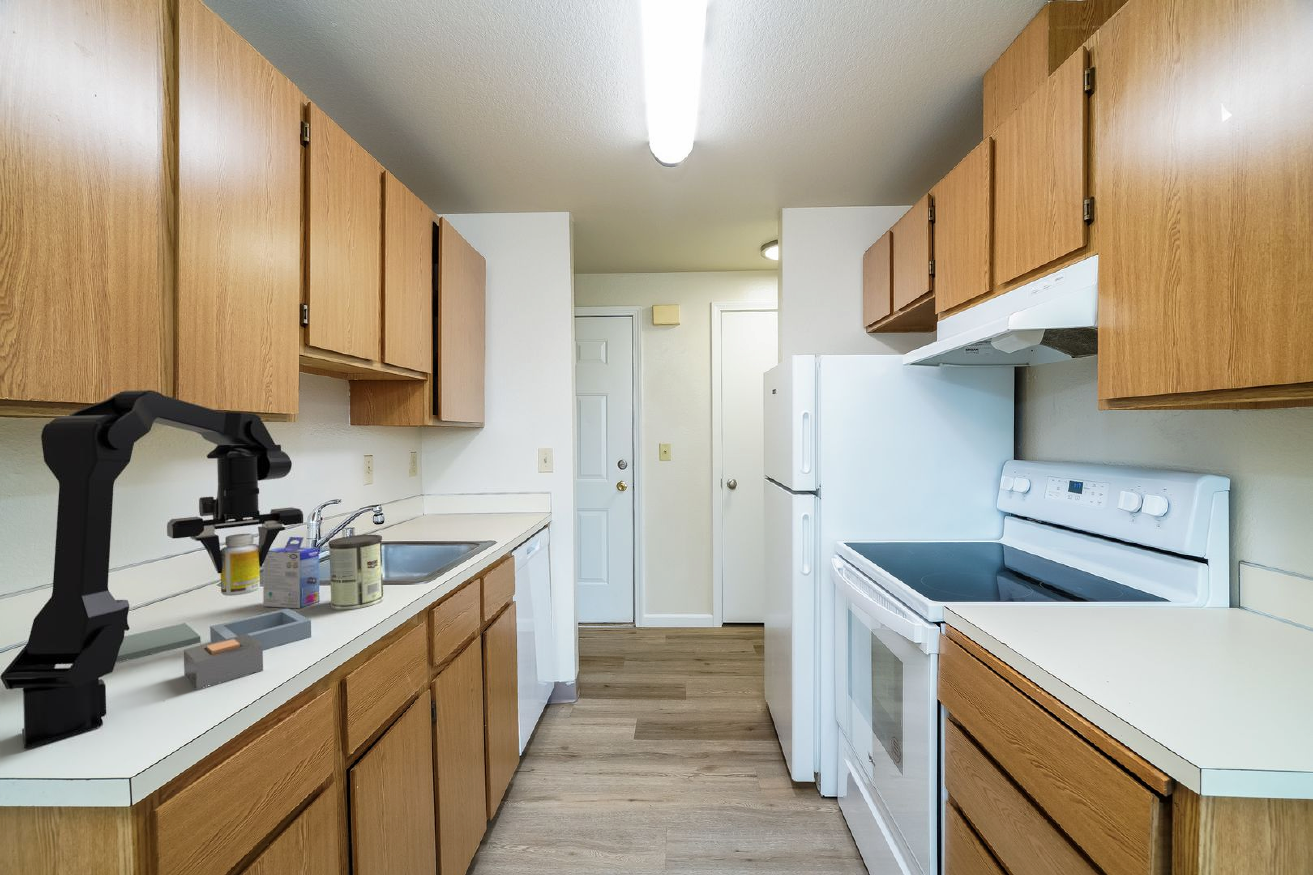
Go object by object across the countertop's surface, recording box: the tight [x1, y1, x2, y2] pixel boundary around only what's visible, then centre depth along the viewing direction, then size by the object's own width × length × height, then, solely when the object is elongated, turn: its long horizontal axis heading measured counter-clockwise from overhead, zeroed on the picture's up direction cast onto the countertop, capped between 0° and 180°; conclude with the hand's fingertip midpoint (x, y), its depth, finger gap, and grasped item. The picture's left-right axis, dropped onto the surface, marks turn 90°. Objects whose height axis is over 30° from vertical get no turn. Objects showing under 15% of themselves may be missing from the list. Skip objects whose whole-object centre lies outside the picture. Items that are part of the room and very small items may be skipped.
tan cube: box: [206, 639, 240, 655], centre depth 83 cm, size 3×3×3 cm
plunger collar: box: [183, 634, 264, 690], centre depth 83 cm, size 8×8×4 cm
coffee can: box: [328, 534, 384, 611], centre depth 118 cm, size 10×10×14 cm
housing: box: [209, 607, 312, 651], centre depth 97 cm, size 12×12×3 cm
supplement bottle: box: [220, 533, 261, 597], centre depth 97 cm, size 6×6×10 cm
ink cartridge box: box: [262, 536, 320, 609], centre depth 118 cm, size 10×6×14 cm, turn 78°
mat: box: [116, 622, 202, 663], centre depth 96 cm, size 12×12×1 cm
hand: (240, 569), depth 97 cm, fingers closed on supplement bottle, 6 cm apart
